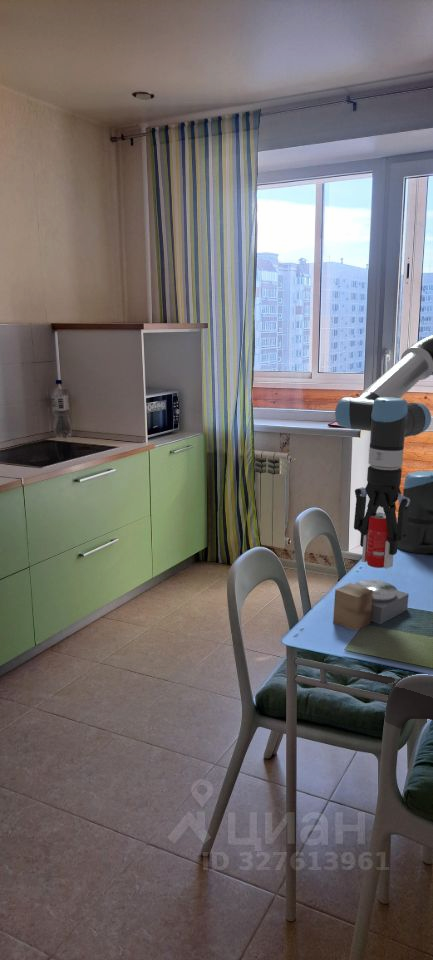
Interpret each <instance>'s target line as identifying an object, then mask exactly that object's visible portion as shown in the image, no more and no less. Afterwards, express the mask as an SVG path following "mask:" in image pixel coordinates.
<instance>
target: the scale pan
mask: <svg viewBox="0 0 433 960" xmlns="http://www.w3.org/2000/svg"><path fill="white" fill-rule="evenodd" d="M354 584H355V585H358V586H361V587H364V588H367V589H370V590H373V596H372V602H390V601H393V600H395V599H396V597H397V590H398V589H397V587H396V586H395V585H393V584H391V583H388V582H385V581H381V580H374V579H373V580H372V579H369V580H368V579H366V580H365V579H364V580H360V581H359V580H358V581H357V582H355V583H354Z"/></svg>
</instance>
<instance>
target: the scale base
mask: <svg viewBox="0 0 433 960" xmlns="http://www.w3.org/2000/svg"><path fill="white" fill-rule="evenodd" d="M408 602H409V593H406V592H403V591H400V590H398V589H397V597H396V599H395V600H393V601H390V602H372V608H371V621H370V622H373V623H375V624H378V625H382V624H384V623H385V622H387V621H390V620H391V619H393V618H395V617H396V616H398V615H400V614H402V613H404V612H405V611H407V610H408V605H409V603H408Z"/></svg>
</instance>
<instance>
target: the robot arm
mask: <svg viewBox="0 0 433 960" xmlns="http://www.w3.org/2000/svg"><path fill="white" fill-rule="evenodd" d="M431 376H433V334H431V335H429V336H426V337H424V338H422V339H421V340H418V341H416V342H415V343H413V344H411V346H409V347H407V349H405V350H404V352H402V354H401V356H400V359H399V360H398V361H397V362H396V363H395V364H393V365H392V366H391V367H390V368H389V369H388V370H387V371H385V372H384V373H383V374H382V375H381V376H379V377H378V378H377V379H376V380H375V381H374V382H373V383H372V384H370V385H369V386H368V387H367V388H365V389H364V390H363V391H362V392H361V393H360V394H359V395H358V396H356V397H353V396H350V397H349V396H348V397H347V396H346V397H342V398H341V399H339V400H338V402H337V403H336V406H335V410H334V411H335V412H334V415H335V421H336V424H337V425H338V426H339V427H342V428H347V429H351V430H358V431H359V430H360V431H367V432H370V437H369V438H370V441H369V449H368V464H369V466H368V467H367V474H366V475H367V476H366V481H367V484H366V486H365V487H358V488H355V490H354V494H355V507H354V508H355V509H354V521H353V529H354V530H356V531H359V533H360V542H359V544H360V547H361V548H362V554H361V562H362V563H367V561H366V553H367V540H368V527H369V518H370V516H371V515H372V514H374V513H378V512H377V511H378V509H379V507H381V508H382V509H383V513H385V515H386V521H387V528H388V535H389V540H387V541H386V545H385V557H384V568H383V569H386V570H387V569H389V568H392V567H393V565H394V564H393V563H394V555H397V553H398V549H399V550H402V551H405V552H409V553H414V554H427V555H428V553H433V470H422V471H421V470H420V471H413V472H410V473H408V474H407V475H405V477H404V483H403V487H402V489H403V490H402V491H403V492H401V490H400V489H401V483H402V473H403V470H402V468H401V467H403V463H404V461H403V460H404V451H405V450H404V447H405V438H408V437H413V436H418V435H420V434H422V433H424V432H425V431H427V429H429V427H430V425H431V422H432V414H431V412H430V409H429V408H428V407H427V406H426V405H425V404H423V403H420V402H413V401H411V402H409V403H408V401H407V399H405V398H402V397H404V395H406V393H408V392H409V391H410V389H412V388H413V387H414V386H415V385H417V383H418V382H419V381H422V380H426V379H427V378H429V377H431ZM367 496H368V499H369V500H368V503H367ZM397 501H398V503H397V505H399V506H398V511H397V512H398V513H396V510H397V507H396V502H397ZM366 507H367V508H366Z"/></svg>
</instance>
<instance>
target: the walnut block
mask: <svg viewBox="0 0 433 960" xmlns="http://www.w3.org/2000/svg"><path fill="white" fill-rule="evenodd" d="M372 596H373V590H370V589H367V588H364V587H361V586H358V585H355V583H352V582H349V583H347V584H344V585H343V586H340V587H338V588H336V589H334V601H333V602H334V603H333V604H334V605H333V617H332V618H333V619H332V623H333V624H336V625H339V626H342V627H344V628H347V629H349V630H352V631H354V632H357V631H358V630H361V629H362V628H364V627H366V626H368V625H370V624H371V622H372V621H371V608H372ZM367 624H368V625H367ZM365 625H366V626H365ZM356 630H357V631H356Z"/></svg>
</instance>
